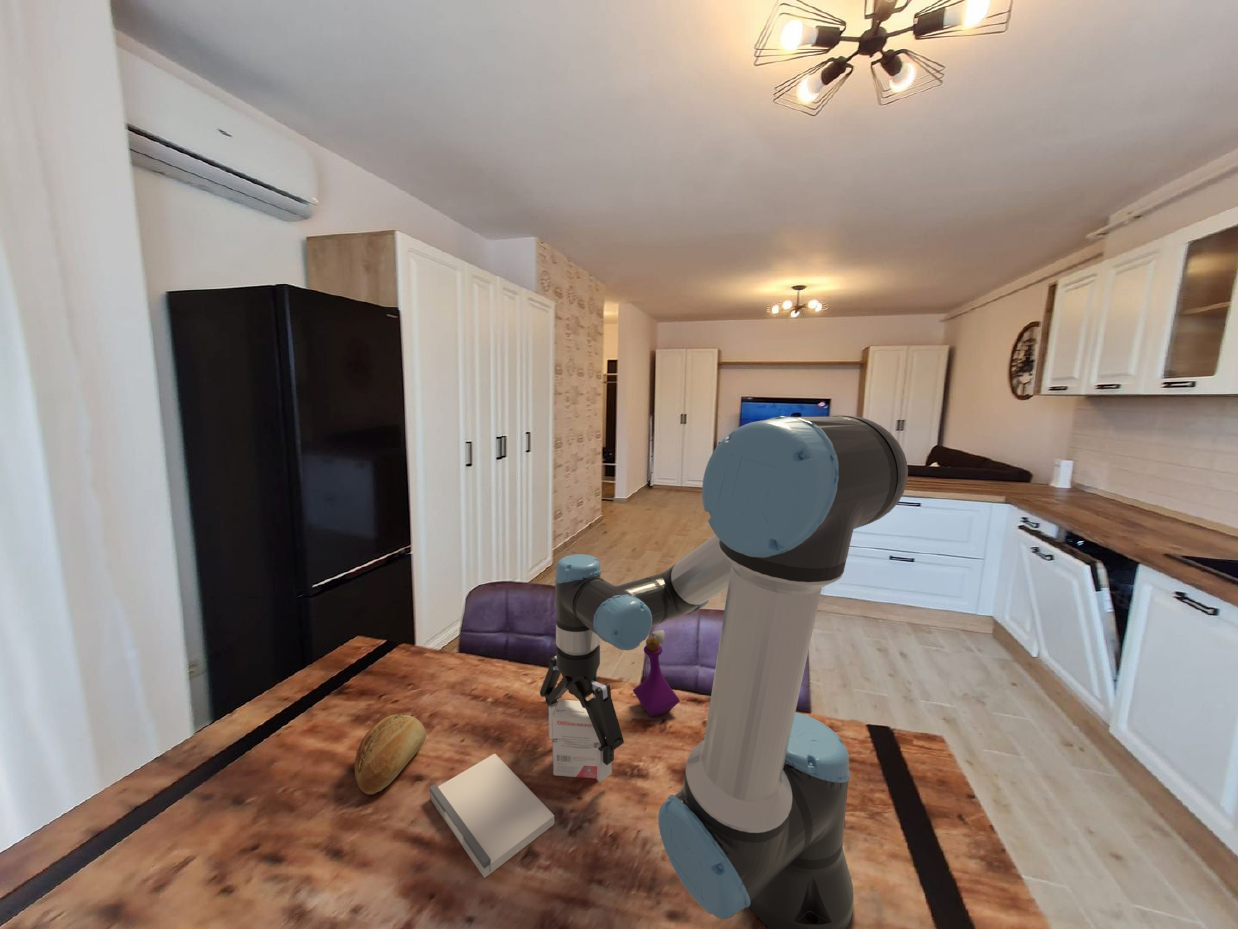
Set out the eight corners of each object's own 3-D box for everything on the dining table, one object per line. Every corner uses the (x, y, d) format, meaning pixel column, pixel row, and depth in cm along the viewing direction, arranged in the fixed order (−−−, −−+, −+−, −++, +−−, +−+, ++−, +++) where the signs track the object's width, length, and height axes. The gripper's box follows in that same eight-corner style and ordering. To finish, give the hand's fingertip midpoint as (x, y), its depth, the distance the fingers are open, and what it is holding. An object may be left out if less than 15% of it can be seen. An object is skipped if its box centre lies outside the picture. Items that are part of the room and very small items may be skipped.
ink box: (605, 759, 87) (605, 700, 85) (601, 781, 82) (601, 719, 80) (558, 755, 88) (558, 697, 86) (552, 776, 83) (551, 715, 81)
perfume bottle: (632, 703, 103) (632, 626, 100) (662, 694, 106) (663, 619, 103) (648, 725, 96) (649, 642, 93) (679, 715, 99) (681, 634, 96)
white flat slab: (554, 824, 74) (554, 811, 73) (483, 879, 65) (482, 864, 65) (495, 760, 86) (494, 749, 86) (429, 800, 78) (428, 787, 78)
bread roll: (338, 798, 78) (334, 755, 77) (391, 735, 93) (388, 697, 92) (392, 804, 77) (389, 760, 76) (437, 739, 92) (435, 701, 91)
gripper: (646, 665, 75) (644, 784, 78) (552, 613, 93) (553, 711, 96) (612, 685, 70) (611, 811, 73) (519, 626, 88) (522, 730, 91)
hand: (578, 755), depth 85 cm, fingers open, 13 cm apart
